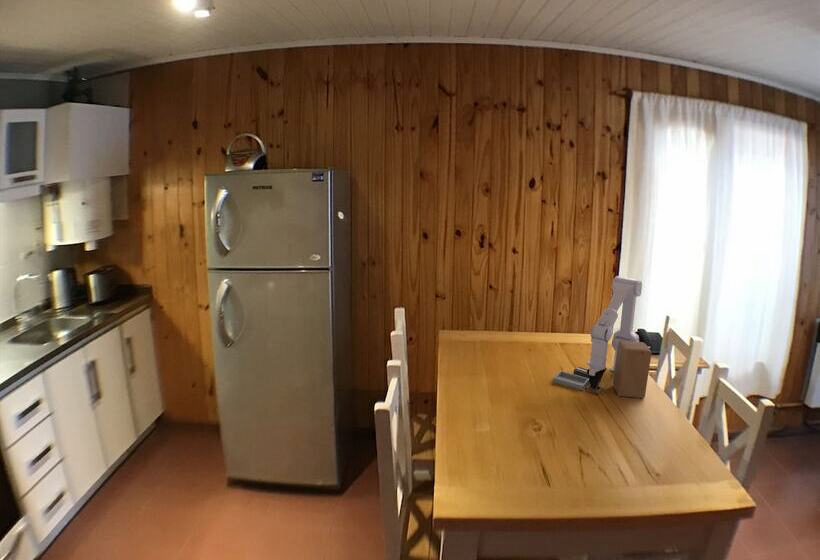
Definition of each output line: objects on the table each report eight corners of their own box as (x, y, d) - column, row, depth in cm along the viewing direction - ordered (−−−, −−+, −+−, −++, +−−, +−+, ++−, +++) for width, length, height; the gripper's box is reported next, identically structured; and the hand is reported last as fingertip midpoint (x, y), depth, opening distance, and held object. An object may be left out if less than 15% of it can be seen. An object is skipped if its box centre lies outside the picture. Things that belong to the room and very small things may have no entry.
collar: (602, 389, 180) (603, 386, 180) (599, 394, 176) (599, 391, 176) (589, 386, 183) (590, 382, 183) (586, 390, 179) (586, 387, 179)
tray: (588, 383, 185) (589, 378, 185) (582, 391, 179) (583, 386, 178) (560, 375, 192) (560, 370, 192) (553, 382, 186) (553, 377, 186)
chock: (598, 381, 188) (599, 373, 187) (593, 384, 185) (594, 376, 184) (578, 374, 195) (578, 366, 194) (572, 377, 192) (573, 369, 191)
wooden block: (645, 399, 173) (652, 351, 168) (617, 396, 175) (624, 349, 170) (638, 387, 182) (644, 341, 178) (611, 385, 184) (617, 339, 180)
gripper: (593, 346, 184) (590, 376, 187) (582, 357, 173) (578, 389, 176) (611, 350, 180) (607, 381, 183) (601, 362, 169) (597, 395, 172)
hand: (594, 385), depth 179 cm, fingers closed on pin, 3 cm apart
